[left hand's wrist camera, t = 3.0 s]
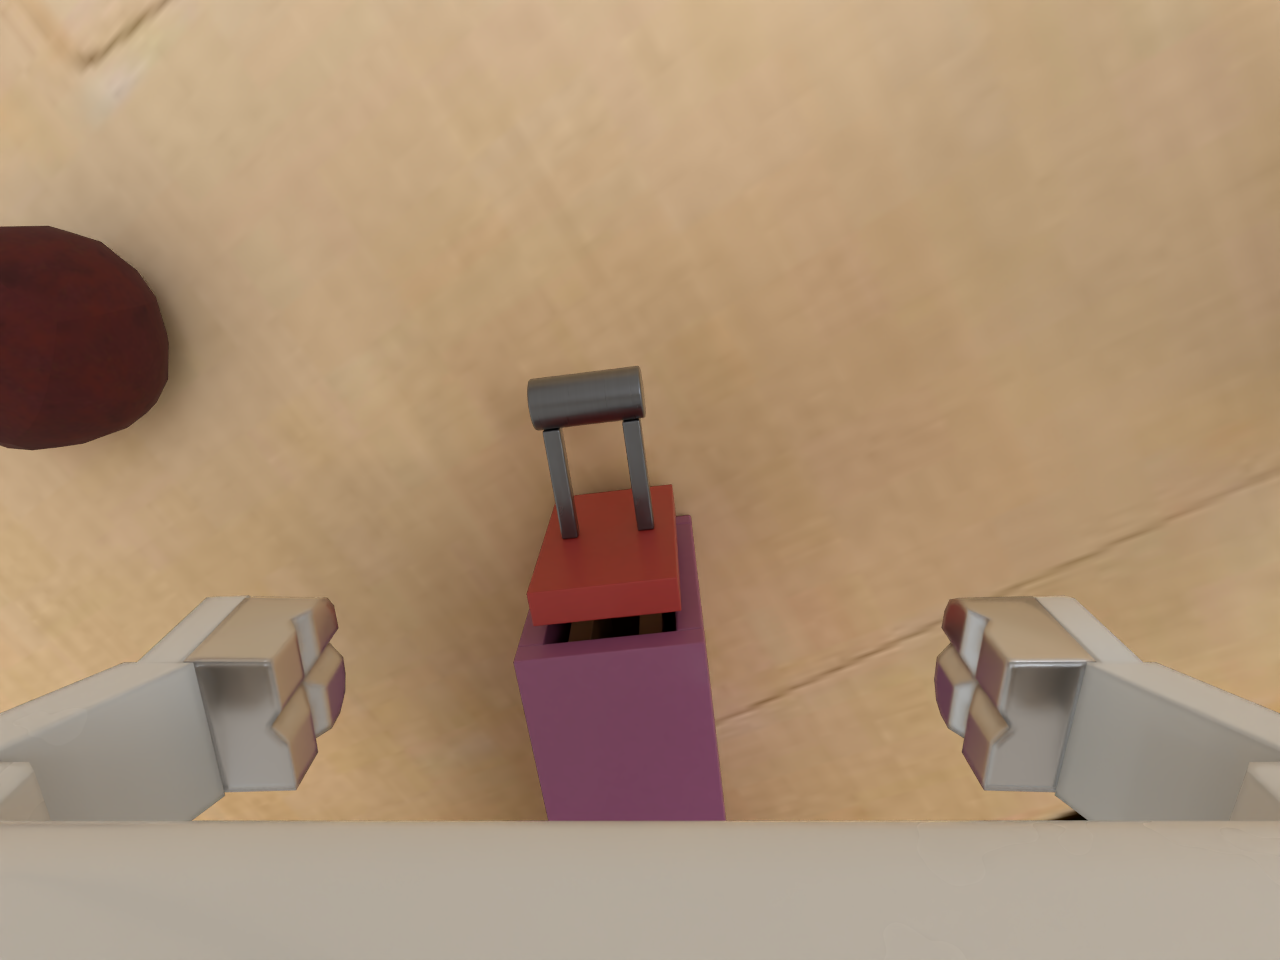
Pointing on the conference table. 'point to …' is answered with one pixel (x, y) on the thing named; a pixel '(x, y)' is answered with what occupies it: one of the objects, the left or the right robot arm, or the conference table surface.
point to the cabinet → (625, 716)
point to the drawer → (603, 519)
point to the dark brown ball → (73, 340)
